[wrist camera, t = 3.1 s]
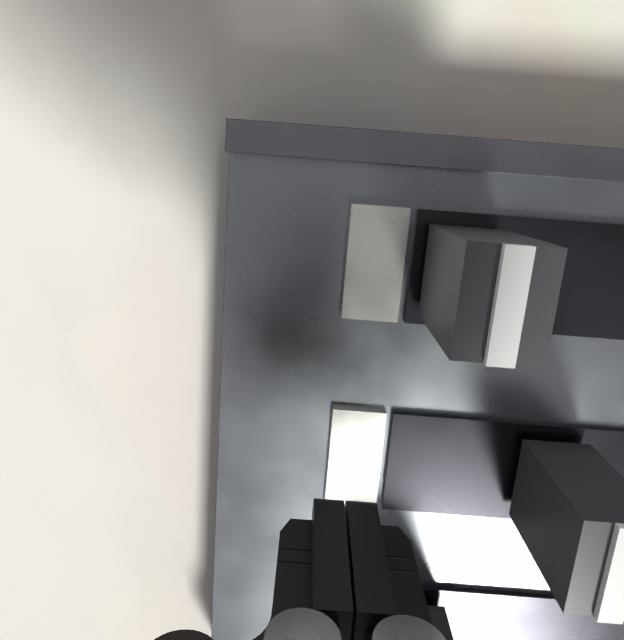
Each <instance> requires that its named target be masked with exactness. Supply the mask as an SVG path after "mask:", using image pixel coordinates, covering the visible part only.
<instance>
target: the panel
mask: <svg viewBox="0 0 624 640" xmlns="http://www.w3.org/2000/svg"><path fill="white" fill-rule="evenodd" d="M225 151H227V152H229V164H228V192H227V220H226V248H225V275H224V303H223V331H222V359H221V387H220V414H219V442H218V470H217V498H216V525H215V553H214V581H213V609H212V636H211V638H212V639H213V640H253V639H254V638H256V637H257V636H258V635H260V634H261V633H262V632H263V631H264V629H265V628H266V627H267V625H268V623H269V621H270V618H271V614H272V604H273V594H274V585H275V575H276V566H277V556H278V546H279V537H280V531H281V530H282V528H283V527H284V526H285V525H286V523H287V522H288V521H289V520H290V518H291V519H304V520H312V509H313V500H314V498H318V499H332V500H344V505H345V502H346V500H347V501H361V502H374V503H377V507H378V512H379V518H380V523H381V525H388V526H398V527H399V528H400V529H401V530H402V531H403V532H404V534H405V535H406V536H407V537H408V538H409V540H410V541H411V544H412V548H413V552H414V556H415V561H416V564H417V567H418V574H419V575H420V579H421V583H422V587H423V591H424V595H425V599H426V603H427V605H429V606H442V607H445V611H446V614H447V618H448V621H449V625H450V629H451V632H452V636H453V639H454V640H624V622H623V624H611V623H598V622H596V620H595V618H594V617H593V616H588V615H576V614H563V612H562V610H561V608H560V606H559V605H558V603H557V601H556V599H555V597H554V596H553V594H552V592H551V590H550V588H549V586H548V585H547V583H546V581H545V579H544V577H543V576H542V574H541V572H540V570H539V568H538V566H537V565H536V563H535V561H534V559H533V557H532V555H531V554H530V552H529V550H528V548H527V546H526V545H525V543H524V541H523V539H522V537H521V535H520V534H519V532H518V530H517V528H516V526H515V524H514V523H513V521H512V519H511V517H510V515H509V511H510V505H511V500H512V494H513V489H514V484H515V478H516V473H517V467H518V462H519V457H520V451H521V446H522V440H523V439H526V440H539V441H552V442H565V443H578V444H591V445H592V446H593V447H594V448H595V449H596V450H597V451H598V452H599V453H600V454H601V455H602V456H603V457H604V458H605V459H606V460H607V461H608V462H609V463H610V464H611V465H612V466H613V467H614V468H615V469H616V470H617V471H618V472H619V473H620V474H621V475H622V476H623V477H624V149H617V148H604V147H591V146H578V145H565V144H552V143H539V142H526V141H513V140H500V139H487V138H474V137H461V136H448V135H436V134H423V133H410V132H397V131H384V130H371V129H358V128H345V127H332V126H319V125H306V124H293V123H280V122H267V121H254V120H241V119H228V118H226V141H225ZM430 224H440V225H453V226H466V227H479V228H491V229H504V230H508V231H511V232H515V233H518V234H521V235H525V236H528V237H531V238H535V239H538V240H541V241H545V242H548V243H552V244H555V245H558V246H562V247H565V248H568V251H567V256H566V262H565V267H564V272H563V278H562V283H561V288H560V293H559V299H558V304H557V309H556V315H555V320H554V325H553V330H552V336H551V341H550V346H549V352H548V357H547V362H546V367H545V368H539V367H526V366H515V369H514V368H501V367H488V366H485V365H484V363H474V362H462V361H450V360H449V359H448V357H447V356H446V354H445V353H444V351H443V350H442V349H441V347H440V346H439V344H438V343H437V341H436V340H435V338H434V337H433V335H432V334H431V332H430V331H429V330H428V328H427V327H426V325H425V324H424V322H423V321H422V319H421V318H420V316H419V315H418V312H419V305H420V297H421V289H422V281H423V273H424V265H425V257H426V249H427V241H428V233H429V225H430Z"/></svg>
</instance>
